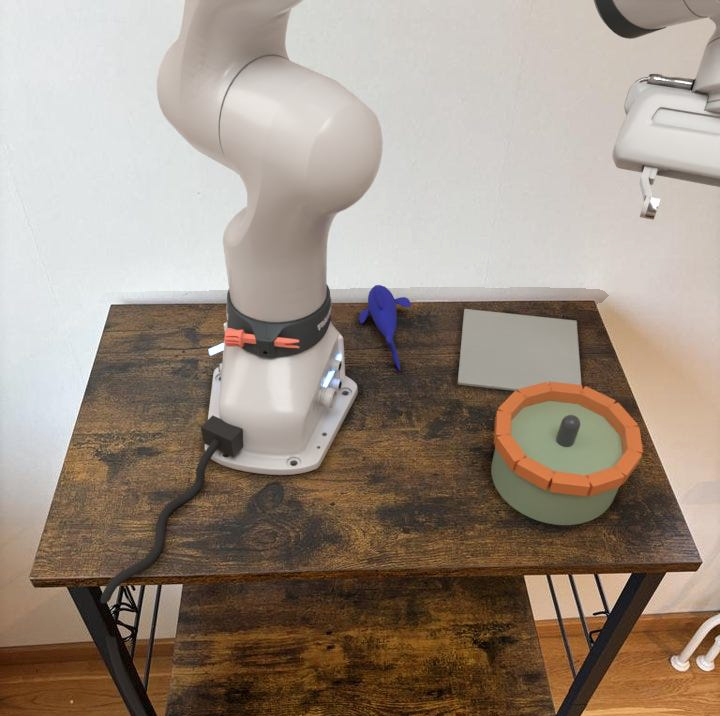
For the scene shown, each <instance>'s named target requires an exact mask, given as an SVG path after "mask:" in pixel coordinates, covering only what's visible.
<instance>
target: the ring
mask: <svg viewBox="0 0 720 716" xmlns="http://www.w3.org/2000/svg"><path fill="white" fill-rule="evenodd" d="M545 401H557V402H565V403H574V404H579V405H581V406H583V407H585V408H587V409H589V410H591V411H593V412H595V413H597V414H599V415H601V416H603V417H605V419H606V420H607V421H608V422H609V423H610V424H611V425H612V427H613V428H614V429H615V430H616V431H617V432H618V434H619V435H620V436H621V441H622V449H623V456H622V457H621V458H620V460H619V461H618V462H617V464H616V465H615V466H614V467H611V468H608V469H605V470H602V471H599V472H595V473H592V474H589V475H581V474H573V473H565V472H557V471H553V470H551V469H549V468H547V467H546V466H544V465H542V464H540V463H538V462H536V461H535V460H533V459H531V458H529V457H527V456H526V455H525V453H524V452H523V451H522V449H521V448H520V447H519V445H518V444H517V442H516V441H515V440H514V438H513V437H512V436H511V420H512V419H513V418H514V417H515V416H516V415H517V414H518V413H519V412H520V411H521V410H522V409H523V408H524V407H527V406H531V405H534V404H538V403H542V402H545ZM616 401H617V400H616V399H614V398H612V397H610V396H608V395H605V394H603V393H601V392H599V391H597V390H595V389H593V388H591V387H589V386H587V385H585V386H583V385H582V384H581V385H577V384H568V383H559V382H549V384H548V383H547V382H543V383H539V384H536V385H532V386H528V387H525V388H521V389H518V391H513V392H512V393H511V394H510V395H509V397H507V398H506V399H505V401H503V402H502V403H501V405H500V406H498V407H497V411H496V414H495V418H494V428H493V429H494V431H493V433H494V434H493V445H494V449H495V448H496V449H497V451H498V452H499V454H500V455H501V456H502V458H503V459H504V461H505V462H506V464H507V465H508V466H509V468H510V469H511V471H514V470H515V474H516V475H518V476H520V477H522V478H524V479H525V480H527V481H529V482H531V483H533V484H534V485H536V486H538V487H540V488H542V489H544V490H547V489H548V487H549V492H554V493H562V494H570V495H578V496H587V493H588V495H589V496H592V495H595V494H599V493H602V492H605V491H608V490H611V489H614V488H617V487H619V488H620V487H621V486H622V485H624V484H625V482H627V480H628V478H630V476H631V475H632V473H633V472H634V471H635V469H636V468H637V466H638V464H639V463H640V461H641V458H642V456H643V453H644V450H643V443H642V436H641V430H640V429H641V428H640V426H639V425H638V423H637V422H636V420H635V419H634V418H633V417H632V416H631V415H630V413H628V411H627V410H626V409H625V408H624V407H623V406H622V405H621V403H619V402H616Z"/></svg>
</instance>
